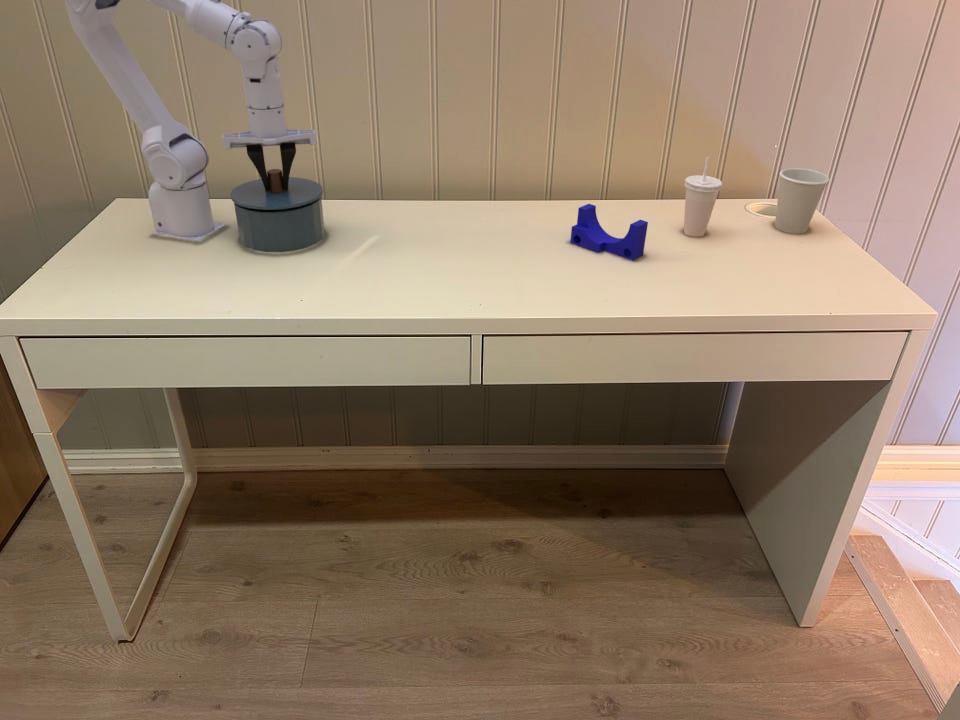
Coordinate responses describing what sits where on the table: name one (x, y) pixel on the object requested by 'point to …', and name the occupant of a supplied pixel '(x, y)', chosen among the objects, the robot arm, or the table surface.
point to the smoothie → (699, 201)
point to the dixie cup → (798, 198)
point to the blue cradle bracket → (607, 235)
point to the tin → (280, 227)
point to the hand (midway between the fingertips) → (276, 189)
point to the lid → (276, 192)
